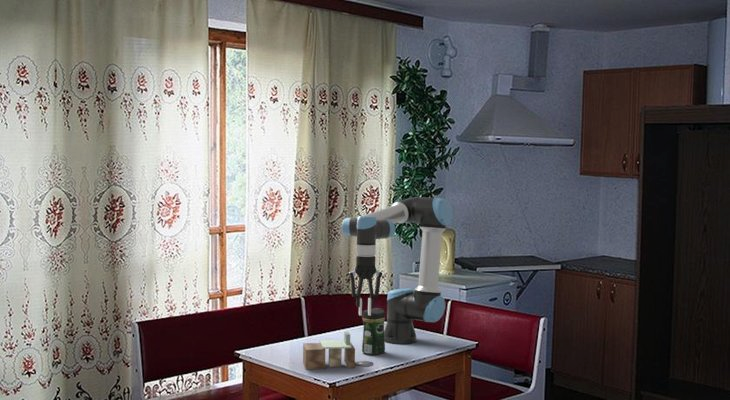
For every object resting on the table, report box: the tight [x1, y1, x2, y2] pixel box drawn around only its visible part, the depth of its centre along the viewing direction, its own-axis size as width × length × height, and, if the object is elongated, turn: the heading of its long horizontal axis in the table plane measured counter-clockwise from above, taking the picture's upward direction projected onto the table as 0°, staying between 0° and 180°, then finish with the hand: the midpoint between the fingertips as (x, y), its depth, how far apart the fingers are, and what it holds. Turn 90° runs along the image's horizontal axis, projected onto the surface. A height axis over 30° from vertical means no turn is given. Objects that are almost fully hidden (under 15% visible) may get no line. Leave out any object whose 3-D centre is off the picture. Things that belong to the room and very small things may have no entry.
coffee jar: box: [361, 307, 386, 356], centre depth 329 cm, size 10×8×19 cm
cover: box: [319, 331, 351, 350], centre depth 308 cm, size 11×12×5 cm
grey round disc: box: [355, 360, 373, 367], centre depth 310 cm, size 7×7×1 cm
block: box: [327, 348, 343, 368], centre depth 308 cm, size 4×4×7 cm
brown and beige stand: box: [302, 341, 356, 370], centre depth 308 cm, size 19×11×8 cm, turn 100°
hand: (364, 314), depth 310 cm, fingers open, 3 cm apart
